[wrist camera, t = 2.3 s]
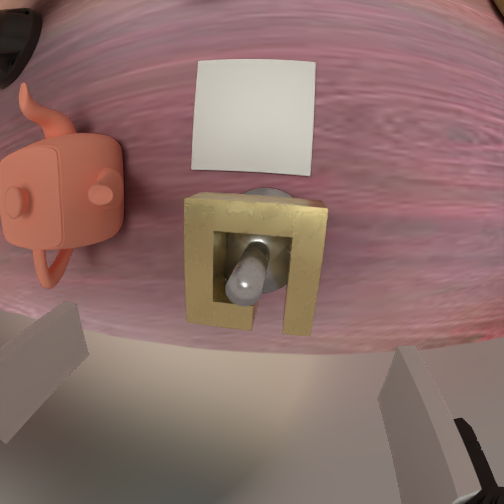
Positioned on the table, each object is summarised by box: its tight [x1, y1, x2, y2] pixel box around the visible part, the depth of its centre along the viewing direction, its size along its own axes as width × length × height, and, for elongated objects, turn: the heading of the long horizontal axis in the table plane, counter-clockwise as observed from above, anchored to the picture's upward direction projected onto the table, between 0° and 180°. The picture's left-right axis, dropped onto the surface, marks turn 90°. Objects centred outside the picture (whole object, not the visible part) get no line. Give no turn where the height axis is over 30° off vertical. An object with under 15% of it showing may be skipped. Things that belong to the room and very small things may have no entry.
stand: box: [225, 187, 294, 307], centre depth 23 cm, size 9×9×15 cm
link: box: [184, 192, 328, 336], centre depth 21 cm, size 9×9×4 cm
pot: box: [0, 82, 124, 289], centre depth 26 cm, size 18×17×12 cm
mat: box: [191, 59, 315, 176], centre depth 27 cm, size 12×12×1 cm
